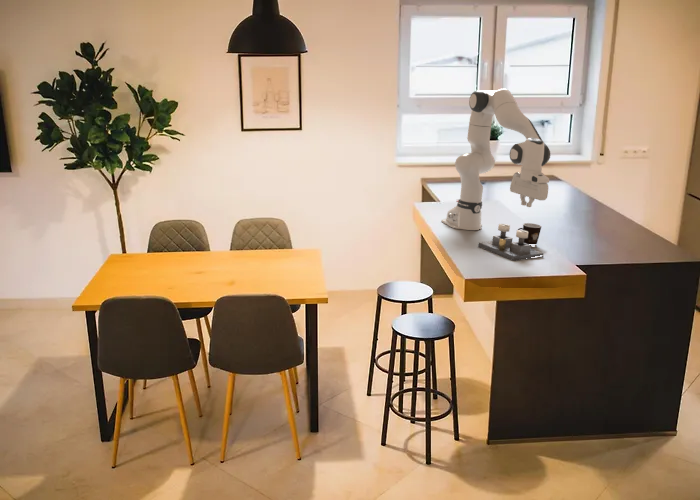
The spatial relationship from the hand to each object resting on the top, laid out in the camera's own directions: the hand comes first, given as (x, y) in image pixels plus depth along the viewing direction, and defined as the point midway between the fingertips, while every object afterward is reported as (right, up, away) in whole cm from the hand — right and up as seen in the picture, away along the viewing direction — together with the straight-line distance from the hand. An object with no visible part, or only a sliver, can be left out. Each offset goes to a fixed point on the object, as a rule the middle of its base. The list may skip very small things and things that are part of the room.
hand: (526, 206), depth 324 cm
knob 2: (-1, -17, +5) cm, 18 cm away
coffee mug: (+6, -18, +26) cm, 32 cm away
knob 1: (-7, -14, +15) cm, 21 cm away
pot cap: (-9, -19, +8) cm, 23 cm away
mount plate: (-5, -21, +11) cm, 24 cm away
